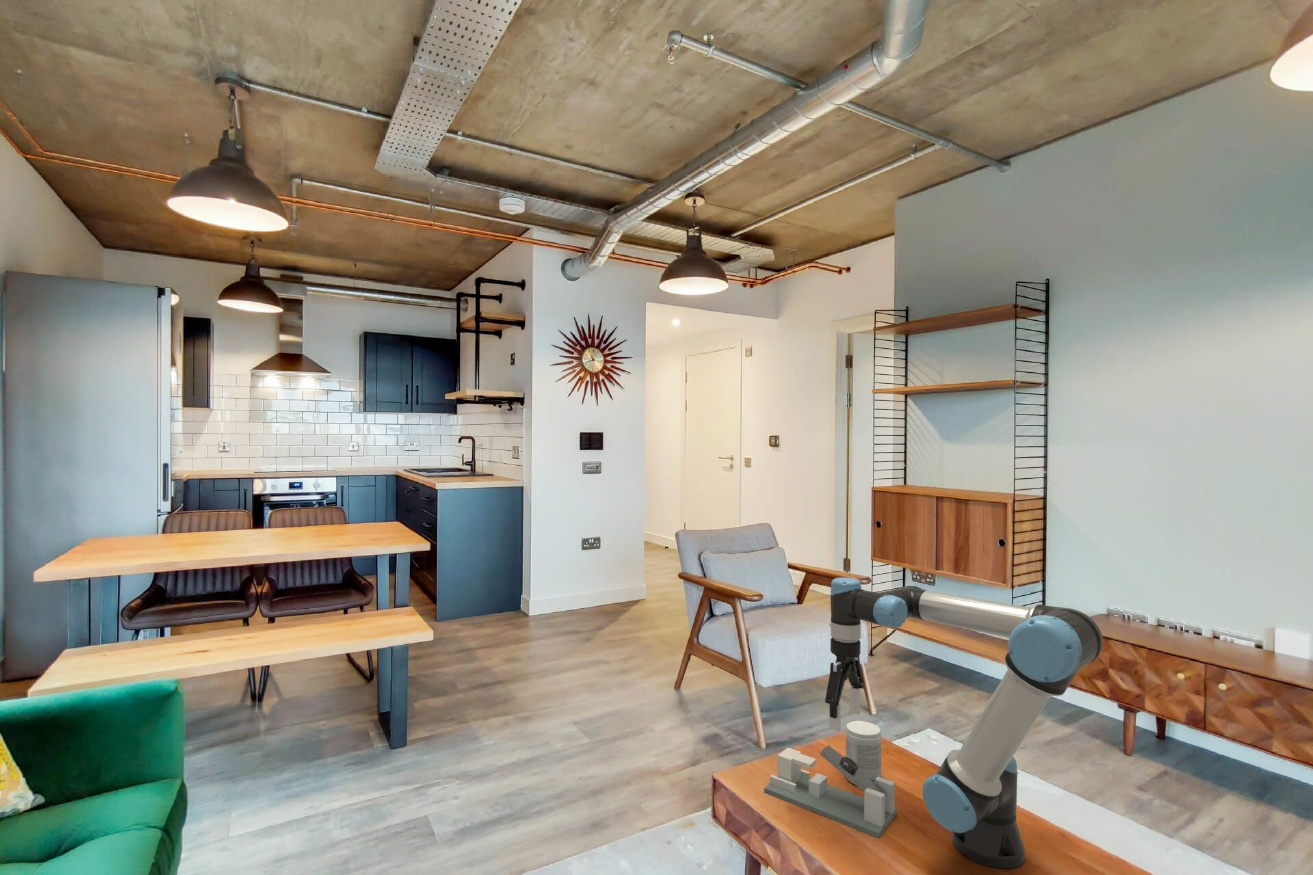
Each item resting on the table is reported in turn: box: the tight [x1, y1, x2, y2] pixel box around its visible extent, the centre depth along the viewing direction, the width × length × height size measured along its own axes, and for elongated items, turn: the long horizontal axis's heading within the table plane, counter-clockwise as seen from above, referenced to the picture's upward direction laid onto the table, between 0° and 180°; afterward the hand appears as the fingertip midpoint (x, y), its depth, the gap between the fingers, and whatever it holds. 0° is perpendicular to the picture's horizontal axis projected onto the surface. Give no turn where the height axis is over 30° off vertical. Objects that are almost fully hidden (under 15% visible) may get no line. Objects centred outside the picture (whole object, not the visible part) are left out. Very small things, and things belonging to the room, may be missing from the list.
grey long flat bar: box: [819, 744, 887, 797], centre depth 166 cm, size 18×4×2 cm, turn 51°
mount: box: [763, 768, 898, 839], centre depth 169 cm, size 31×13×8 cm, turn 51°
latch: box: [776, 747, 817, 784], centre depth 175 cm, size 9×6×8 cm, turn 51°
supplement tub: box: [845, 720, 882, 785], centre depth 181 cm, size 10×10×15 cm
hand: (845, 721), depth 167 cm, fingers open, 13 cm apart
